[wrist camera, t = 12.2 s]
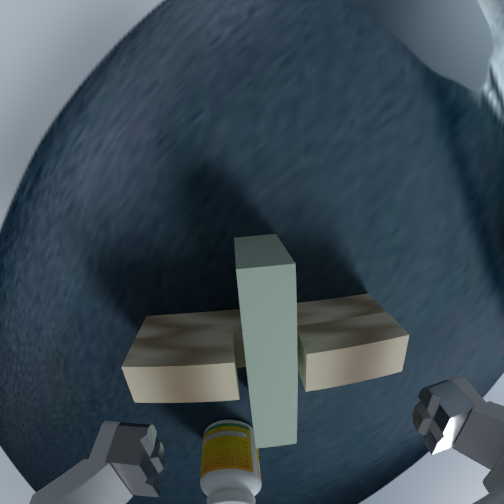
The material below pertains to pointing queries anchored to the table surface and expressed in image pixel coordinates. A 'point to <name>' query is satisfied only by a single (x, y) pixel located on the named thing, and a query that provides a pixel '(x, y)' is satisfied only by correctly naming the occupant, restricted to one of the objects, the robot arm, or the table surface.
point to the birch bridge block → (233, 355)
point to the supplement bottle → (230, 463)
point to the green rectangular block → (269, 336)
